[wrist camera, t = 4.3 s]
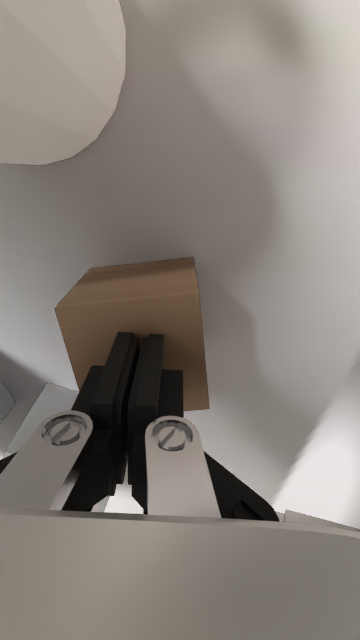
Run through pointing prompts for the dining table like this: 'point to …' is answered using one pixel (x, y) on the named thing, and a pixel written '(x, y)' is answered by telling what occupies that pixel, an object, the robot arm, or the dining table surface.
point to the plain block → (138, 319)
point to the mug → (57, 76)
